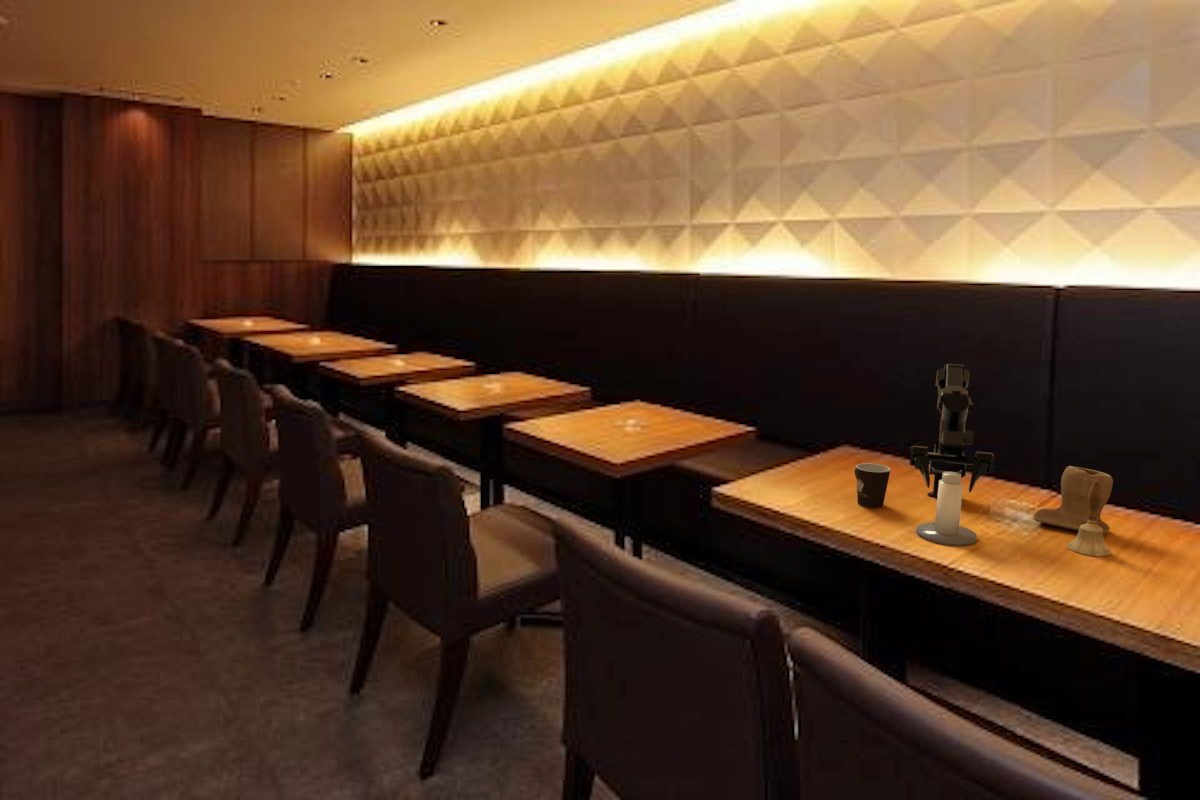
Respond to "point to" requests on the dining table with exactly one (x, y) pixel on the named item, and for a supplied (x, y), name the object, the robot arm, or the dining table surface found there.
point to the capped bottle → (949, 504)
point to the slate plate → (961, 539)
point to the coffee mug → (871, 484)
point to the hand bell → (1091, 528)
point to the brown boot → (1077, 499)
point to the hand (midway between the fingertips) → (949, 489)
